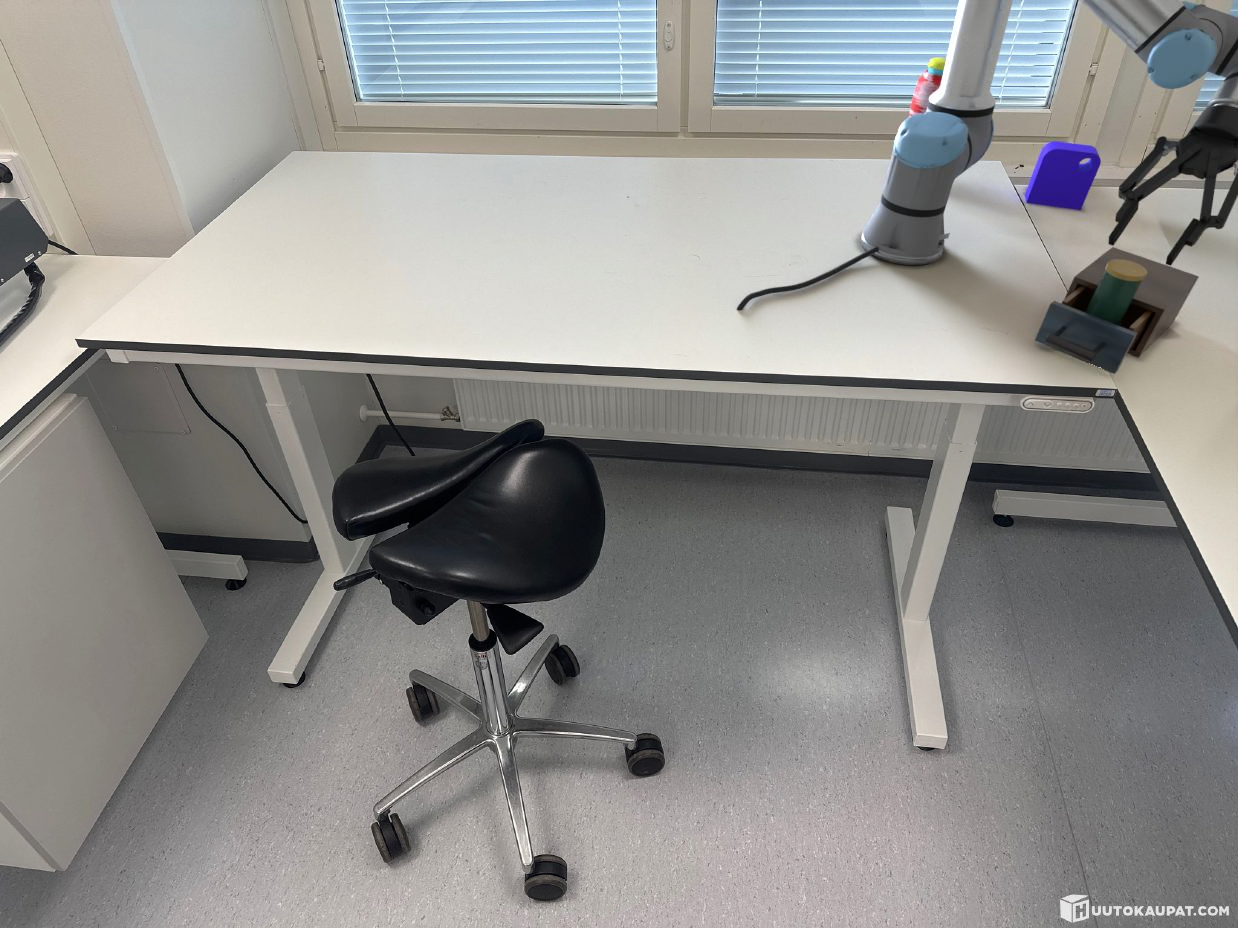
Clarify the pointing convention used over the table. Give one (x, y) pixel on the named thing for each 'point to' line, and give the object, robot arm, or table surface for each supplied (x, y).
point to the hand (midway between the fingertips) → (1139, 250)
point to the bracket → (1063, 175)
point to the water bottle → (927, 86)
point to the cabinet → (1145, 291)
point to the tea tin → (1116, 290)
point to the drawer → (1092, 331)
